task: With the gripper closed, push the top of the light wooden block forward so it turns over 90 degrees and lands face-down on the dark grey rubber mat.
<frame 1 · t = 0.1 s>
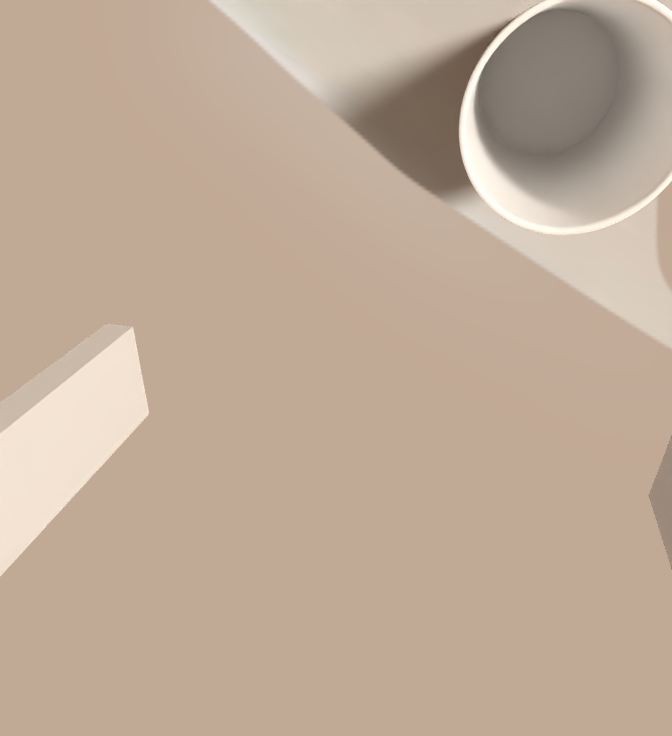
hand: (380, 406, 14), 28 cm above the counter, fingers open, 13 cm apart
cup: (545, 86, 34), on the counter
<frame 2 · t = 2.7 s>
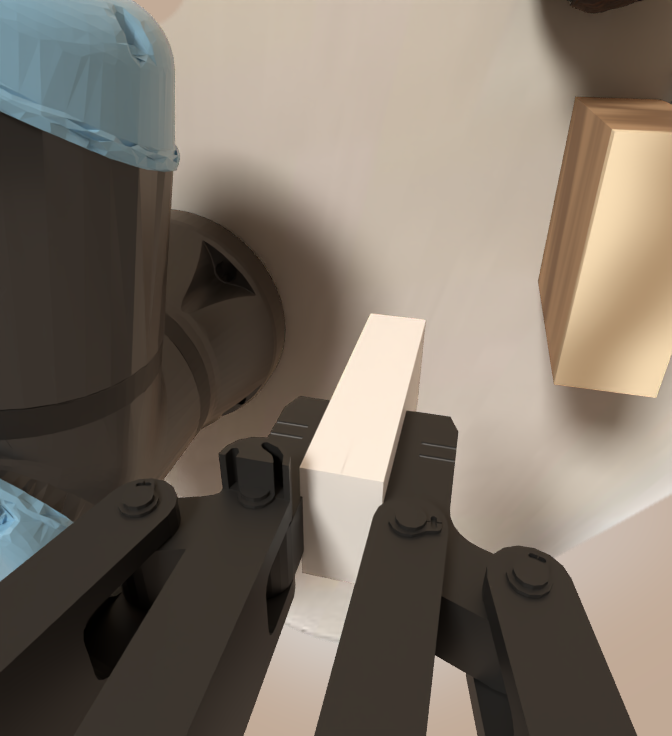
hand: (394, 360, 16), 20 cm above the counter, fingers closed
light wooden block: (593, 198, 31), on the counter
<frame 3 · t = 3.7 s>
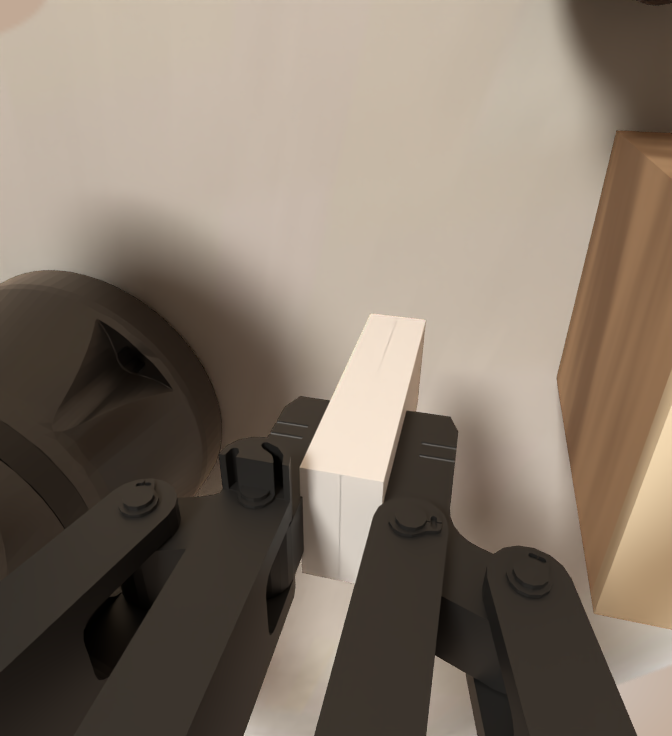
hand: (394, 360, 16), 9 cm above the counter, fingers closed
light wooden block: (638, 273, 22), on the counter
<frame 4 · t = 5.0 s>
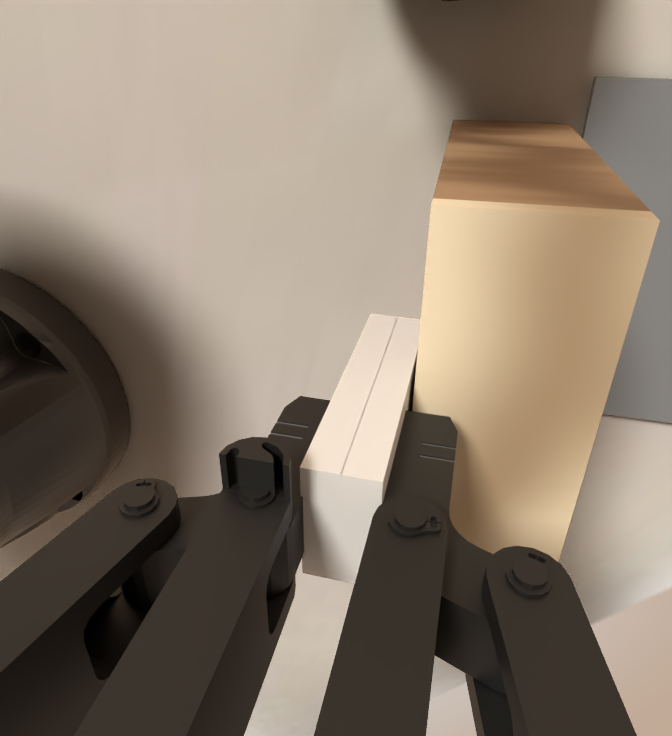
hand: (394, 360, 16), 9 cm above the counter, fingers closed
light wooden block: (490, 256, 23), on the counter, touching gripper
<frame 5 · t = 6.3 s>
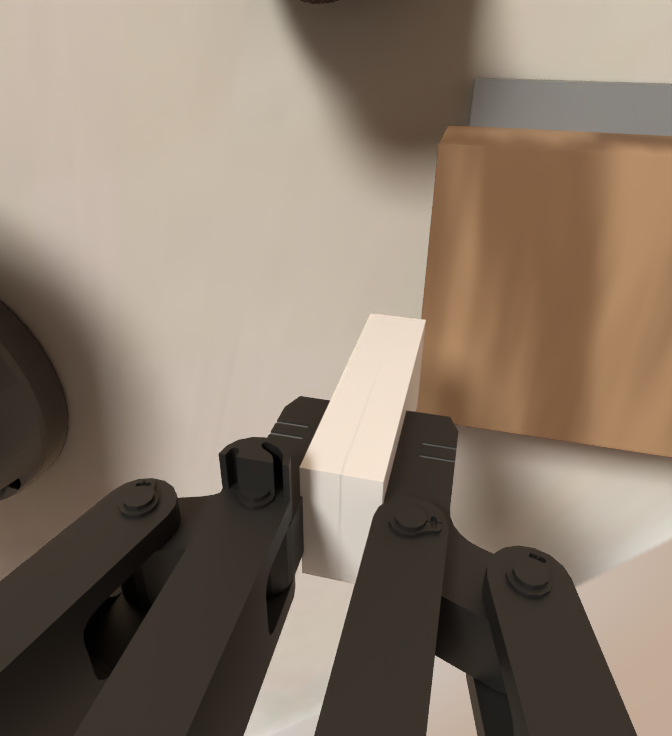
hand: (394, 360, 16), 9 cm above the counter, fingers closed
mat: (598, 271, 22), on the counter
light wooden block: (429, 277, 21), point 2 cm above the counter, tilted 90°, touching mat
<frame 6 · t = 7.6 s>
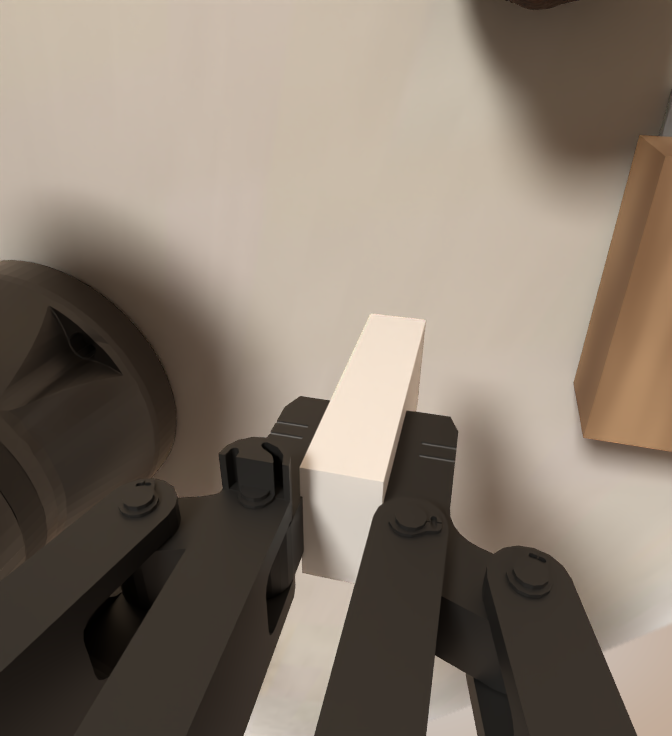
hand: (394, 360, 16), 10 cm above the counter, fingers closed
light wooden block: (610, 292, 21), point 2 cm above the counter, tilted 90°, touching mat
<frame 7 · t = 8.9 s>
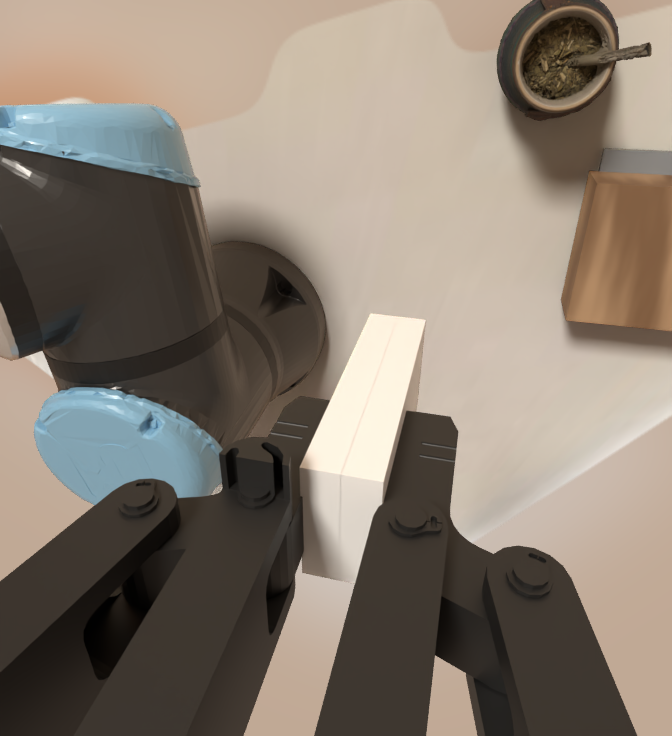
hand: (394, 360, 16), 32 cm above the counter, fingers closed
mat: (661, 243, 43), on the counter
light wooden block: (577, 247, 42), point 2 cm above the counter, tilted 90°, touching mat
mate gourd: (554, 53, 39), on the counter
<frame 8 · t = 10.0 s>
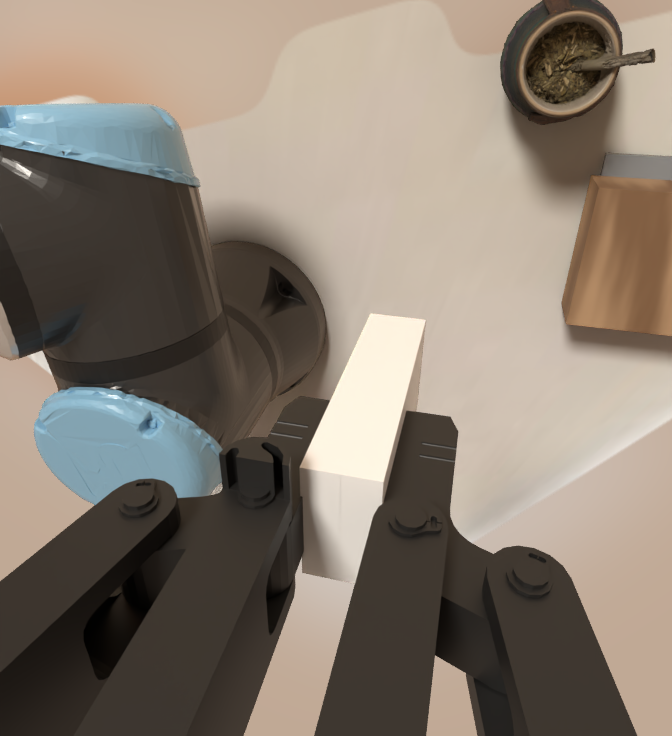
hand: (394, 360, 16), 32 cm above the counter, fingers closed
mat: (662, 248, 43), on the counter
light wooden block: (578, 251, 42), point 2 cm above the counter, tilted 90°, touching mat
mate gourd: (558, 57, 39), on the counter
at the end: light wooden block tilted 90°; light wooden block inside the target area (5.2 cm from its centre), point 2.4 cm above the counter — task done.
